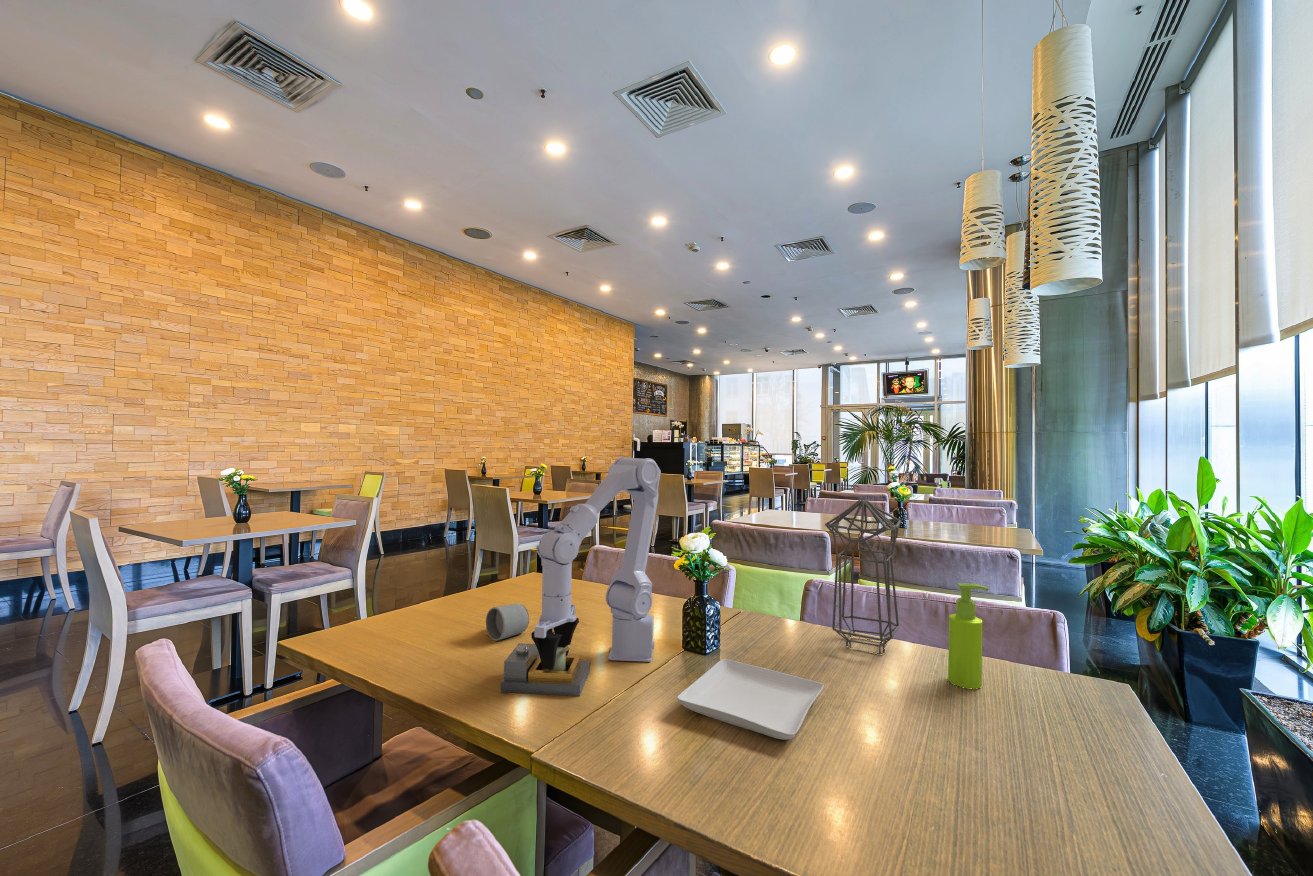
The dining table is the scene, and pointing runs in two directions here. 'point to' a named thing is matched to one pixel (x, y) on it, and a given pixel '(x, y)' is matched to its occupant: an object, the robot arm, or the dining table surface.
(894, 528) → the geometric lantern
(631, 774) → the dining table surface
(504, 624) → the grey hollow cylinder
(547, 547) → the robot arm
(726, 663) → the salad plate
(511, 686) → the assembly fixture
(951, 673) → the soap dispenser
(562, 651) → the spout can
